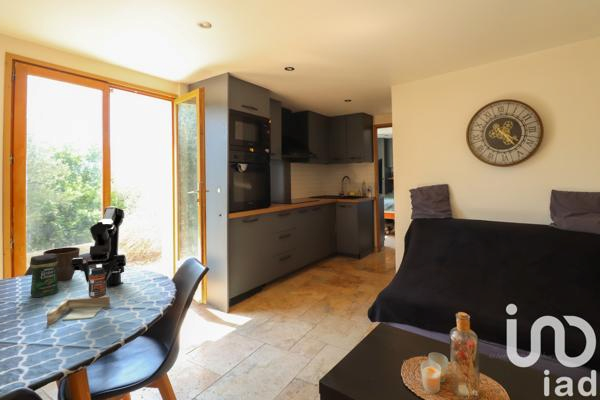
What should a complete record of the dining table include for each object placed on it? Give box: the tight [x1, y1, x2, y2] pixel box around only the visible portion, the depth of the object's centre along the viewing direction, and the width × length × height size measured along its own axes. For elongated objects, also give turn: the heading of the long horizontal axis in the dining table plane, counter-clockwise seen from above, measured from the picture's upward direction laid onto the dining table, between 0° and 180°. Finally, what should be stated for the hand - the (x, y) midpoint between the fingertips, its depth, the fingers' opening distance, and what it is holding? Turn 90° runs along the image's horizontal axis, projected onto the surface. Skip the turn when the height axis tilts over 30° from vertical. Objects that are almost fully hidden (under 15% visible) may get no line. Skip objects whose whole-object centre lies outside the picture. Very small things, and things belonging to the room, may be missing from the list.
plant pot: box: [42, 246, 81, 283], centre depth 153 cm, size 15×15×16 cm
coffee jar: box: [29, 254, 59, 298], centre depth 134 cm, size 10×8×19 cm
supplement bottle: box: [88, 266, 107, 298], centre depth 117 cm, size 6×6×11 cm
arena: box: [46, 295, 111, 325], centre depth 116 cm, size 14×16×4 cm
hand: (96, 281), depth 116 cm, fingers closed on supplement bottle, 6 cm apart
